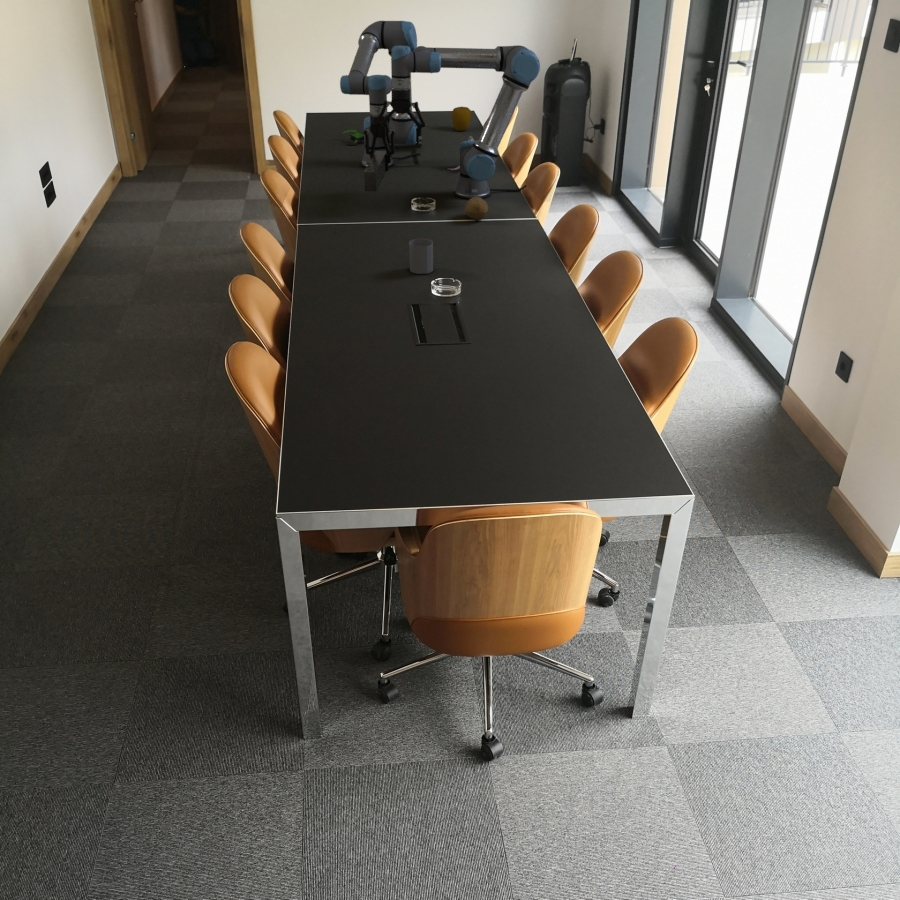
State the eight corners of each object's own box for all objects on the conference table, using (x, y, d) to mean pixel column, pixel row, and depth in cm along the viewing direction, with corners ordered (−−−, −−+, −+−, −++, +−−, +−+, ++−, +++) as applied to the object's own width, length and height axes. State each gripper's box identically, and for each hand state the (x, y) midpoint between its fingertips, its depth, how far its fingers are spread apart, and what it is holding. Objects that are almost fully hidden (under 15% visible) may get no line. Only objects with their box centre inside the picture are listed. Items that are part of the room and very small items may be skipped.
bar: (376, 169, 384) (375, 150, 380) (387, 169, 384) (387, 151, 379) (364, 191, 356) (363, 171, 352) (376, 191, 356) (375, 171, 351)
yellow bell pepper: (471, 132, 486) (471, 108, 479) (451, 132, 486) (451, 108, 479) (470, 128, 495) (471, 104, 488) (452, 128, 495) (452, 104, 488)
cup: (409, 265, 311) (408, 238, 306) (432, 265, 312) (431, 238, 307) (410, 274, 304) (409, 246, 299) (433, 273, 305) (433, 246, 299)
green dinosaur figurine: (396, 126, 467) (340, 124, 465) (396, 141, 460) (339, 139, 458) (396, 136, 472) (341, 134, 470) (396, 151, 465) (340, 149, 463)
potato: (486, 212, 363) (486, 193, 359) (489, 223, 352) (490, 203, 347) (463, 213, 363) (463, 194, 359) (465, 223, 351) (466, 204, 347)
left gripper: (356, 116, 365) (359, 172, 378) (398, 117, 364) (400, 173, 377) (359, 112, 372) (362, 167, 384) (400, 113, 371) (402, 168, 383)
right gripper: (368, 88, 343) (369, 144, 354) (431, 91, 341) (430, 147, 353) (371, 85, 349) (372, 140, 361) (433, 88, 348) (432, 143, 359)
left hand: (381, 170), depth 381 cm, fingers closed on bar, 5 cm apart
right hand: (401, 143), depth 357 cm, fingers open, 13 cm apart
